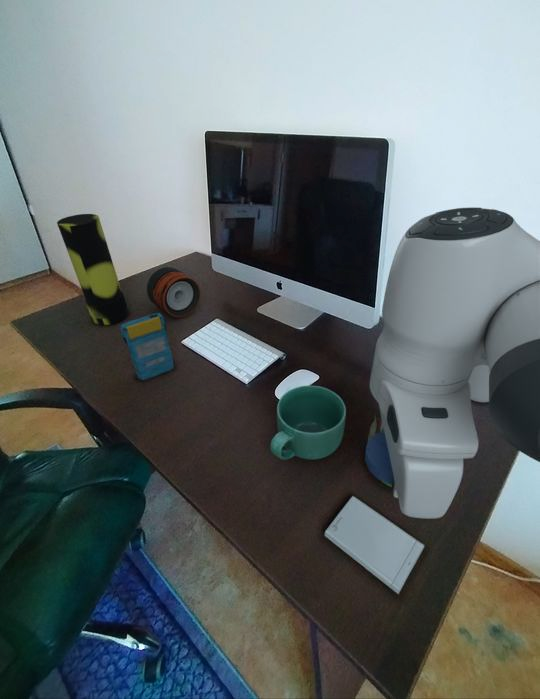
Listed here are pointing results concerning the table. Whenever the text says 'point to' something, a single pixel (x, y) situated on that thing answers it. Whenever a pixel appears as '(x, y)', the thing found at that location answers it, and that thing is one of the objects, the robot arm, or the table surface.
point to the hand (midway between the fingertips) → (393, 462)
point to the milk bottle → (480, 383)
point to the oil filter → (173, 291)
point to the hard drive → (375, 543)
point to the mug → (308, 423)
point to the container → (94, 267)
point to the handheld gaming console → (148, 345)
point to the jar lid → (379, 458)
